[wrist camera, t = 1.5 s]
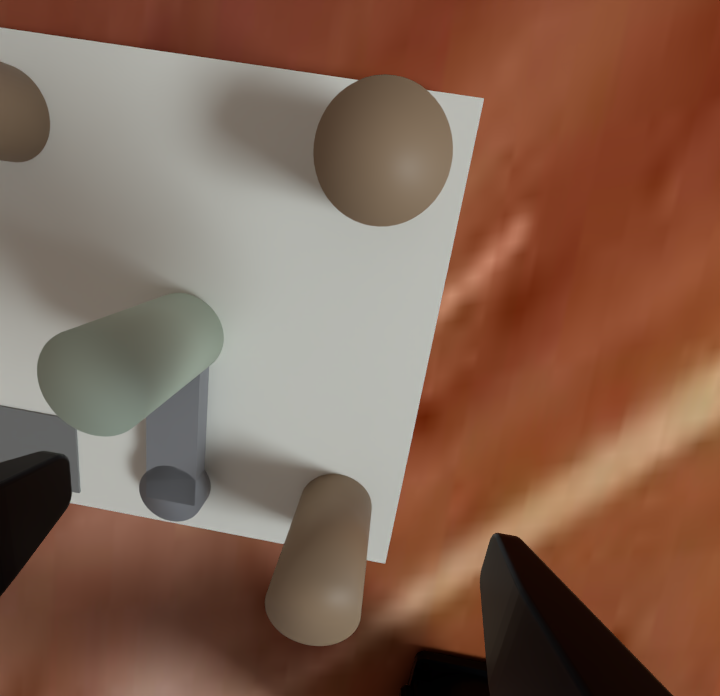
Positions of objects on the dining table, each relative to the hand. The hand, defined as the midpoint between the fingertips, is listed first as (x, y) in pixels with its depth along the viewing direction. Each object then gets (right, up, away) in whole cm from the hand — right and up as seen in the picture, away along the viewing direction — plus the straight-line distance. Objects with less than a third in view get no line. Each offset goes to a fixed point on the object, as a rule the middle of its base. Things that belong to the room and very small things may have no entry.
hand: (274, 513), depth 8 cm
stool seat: (-5, +4, +11) cm, 12 cm away
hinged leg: (-6, 0, +9) cm, 11 cm away
